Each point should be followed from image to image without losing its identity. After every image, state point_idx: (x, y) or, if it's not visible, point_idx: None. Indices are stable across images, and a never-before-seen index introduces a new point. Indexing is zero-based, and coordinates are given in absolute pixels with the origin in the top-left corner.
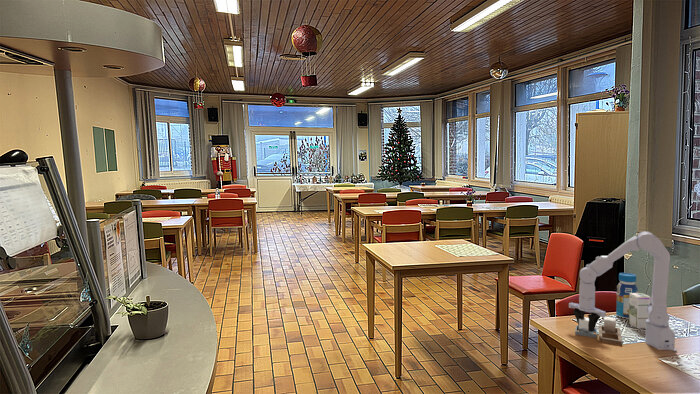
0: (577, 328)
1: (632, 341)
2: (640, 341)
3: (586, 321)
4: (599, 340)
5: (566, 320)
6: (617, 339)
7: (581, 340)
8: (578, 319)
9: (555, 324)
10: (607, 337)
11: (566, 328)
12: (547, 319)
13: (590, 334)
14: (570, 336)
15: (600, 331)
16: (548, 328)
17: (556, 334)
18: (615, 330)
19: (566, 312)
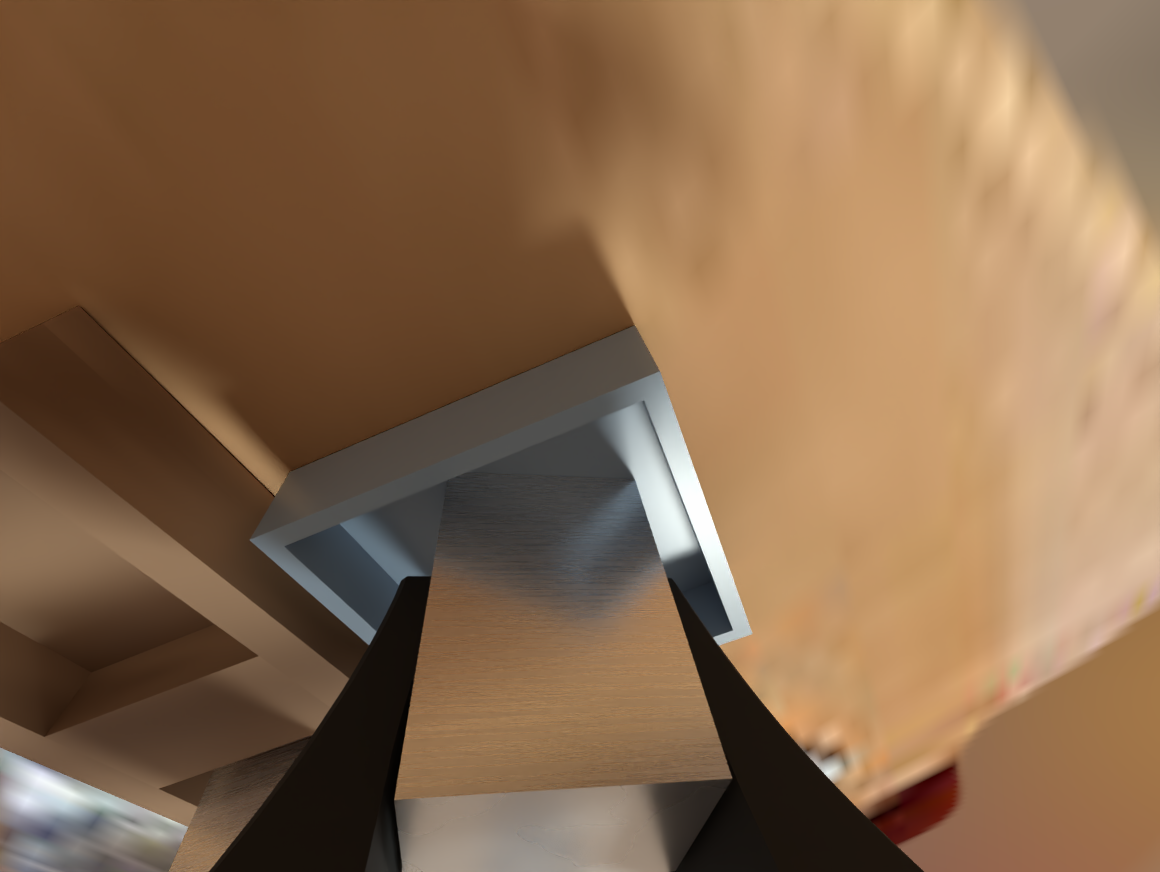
0: (711, 598)
1: None
2: (19, 786)
3: (470, 779)
4: (12, 338)
5: (891, 714)
6: (73, 657)
7: (421, 180)
8: (741, 752)
9: (1013, 549)
10: (210, 621)
11: (853, 534)
12: (1110, 612)
13: (366, 482)
14: (702, 233)
15: (330, 684)
16: (1147, 316)
17: (1001, 80)
18: (191, 820)
19: (914, 819)
